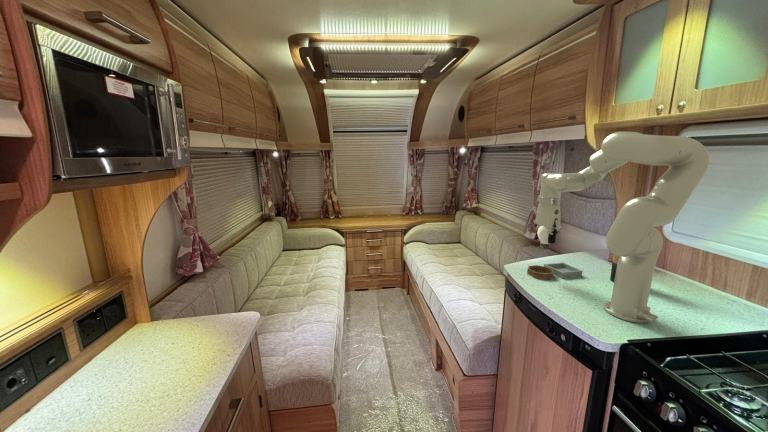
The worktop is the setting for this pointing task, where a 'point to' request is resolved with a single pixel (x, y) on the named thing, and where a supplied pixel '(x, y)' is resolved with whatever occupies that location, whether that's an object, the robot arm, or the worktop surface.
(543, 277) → the holder ring
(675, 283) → the worktop surface
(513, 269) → the worktop surface
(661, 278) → the worktop surface
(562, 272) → the tray
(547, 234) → the light bulb
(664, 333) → the worktop surface
